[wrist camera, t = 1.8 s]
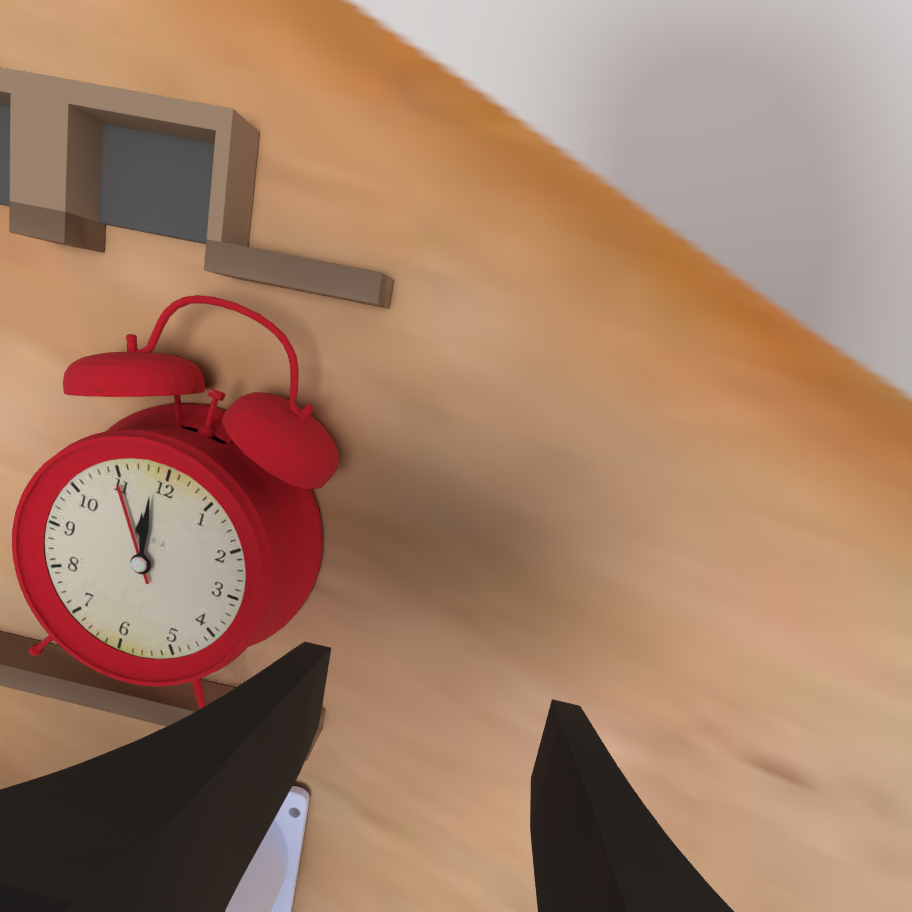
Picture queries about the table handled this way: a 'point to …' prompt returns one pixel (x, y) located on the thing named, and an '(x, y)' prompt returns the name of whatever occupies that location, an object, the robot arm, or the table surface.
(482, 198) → the table surface
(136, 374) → the alarm clock
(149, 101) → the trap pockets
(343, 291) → the wall
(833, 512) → the table surface
